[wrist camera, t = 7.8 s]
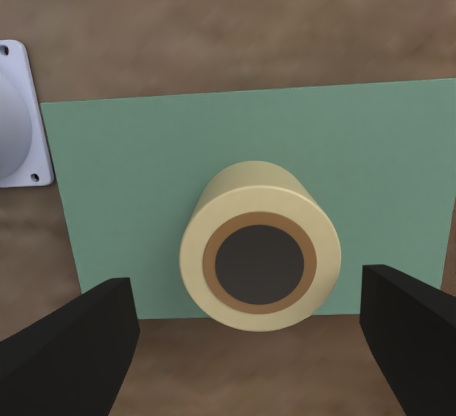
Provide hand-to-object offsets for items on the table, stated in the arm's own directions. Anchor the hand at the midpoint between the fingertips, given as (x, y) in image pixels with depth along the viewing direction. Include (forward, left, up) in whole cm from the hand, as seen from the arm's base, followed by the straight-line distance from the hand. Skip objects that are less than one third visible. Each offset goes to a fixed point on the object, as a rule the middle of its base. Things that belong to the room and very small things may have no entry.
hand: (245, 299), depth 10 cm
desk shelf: (+1, +1, -10) cm, 10 cm away
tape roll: (+1, +1, -5) cm, 5 cm away
